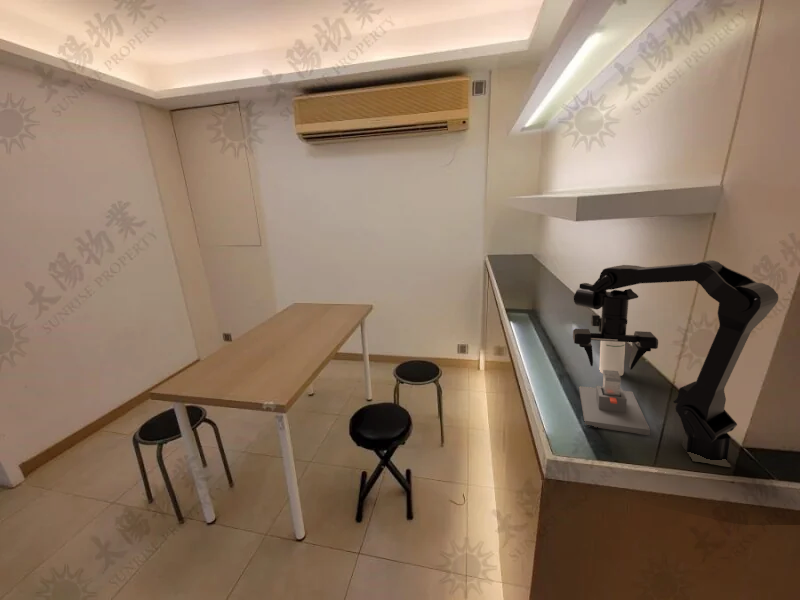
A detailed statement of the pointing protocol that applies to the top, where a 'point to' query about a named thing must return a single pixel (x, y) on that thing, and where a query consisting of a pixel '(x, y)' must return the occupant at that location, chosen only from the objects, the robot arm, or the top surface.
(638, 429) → the jack stand base
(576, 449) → the top surface
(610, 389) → the grey-brown stepped block
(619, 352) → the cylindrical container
